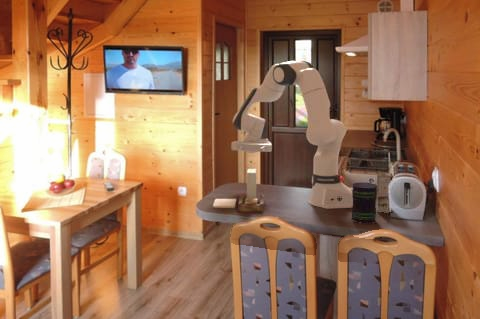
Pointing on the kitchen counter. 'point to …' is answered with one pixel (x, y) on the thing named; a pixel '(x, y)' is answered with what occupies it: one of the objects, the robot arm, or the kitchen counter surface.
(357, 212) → the storage jar
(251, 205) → the offcut rack
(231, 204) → the pad
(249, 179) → the tall board
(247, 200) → the offcut stack
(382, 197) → the coffee box
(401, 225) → the kitchen counter surface
